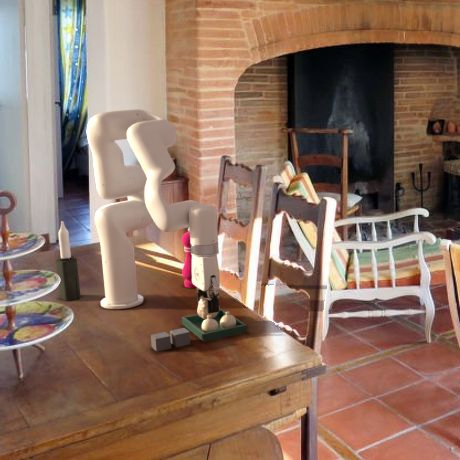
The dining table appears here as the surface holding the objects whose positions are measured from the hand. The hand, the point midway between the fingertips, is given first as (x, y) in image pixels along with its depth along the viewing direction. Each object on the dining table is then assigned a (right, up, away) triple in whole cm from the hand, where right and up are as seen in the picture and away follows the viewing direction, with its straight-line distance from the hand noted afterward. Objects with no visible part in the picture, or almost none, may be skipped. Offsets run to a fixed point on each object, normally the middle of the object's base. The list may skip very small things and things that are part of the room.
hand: (208, 308), depth 229 cm
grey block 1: (-8, -9, -16) cm, 20 cm away
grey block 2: (-4, -9, -13) cm, 16 cm away
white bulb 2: (+7, -6, -3) cm, 9 cm away
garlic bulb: (0, -3, +1) cm, 3 cm away
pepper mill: (-15, +4, +39) cm, 42 cm away
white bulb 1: (+2, -6, -6) cm, 9 cm away
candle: (-51, +1, +26) cm, 57 cm away
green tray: (+2, -6, -2) cm, 7 cm away
